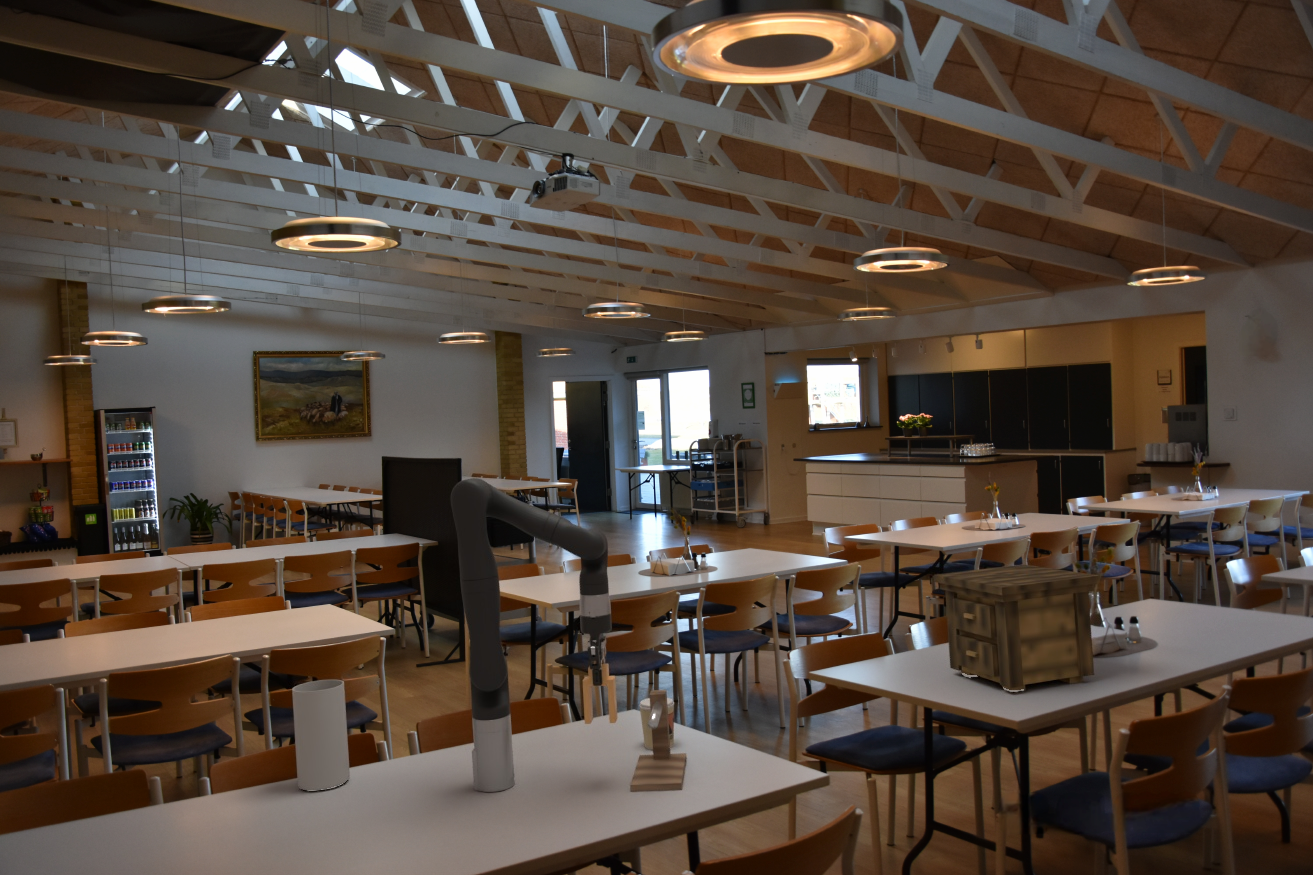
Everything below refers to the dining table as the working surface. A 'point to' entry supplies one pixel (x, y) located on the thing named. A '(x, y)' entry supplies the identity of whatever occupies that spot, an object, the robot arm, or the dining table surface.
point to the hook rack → (659, 753)
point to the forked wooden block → (612, 700)
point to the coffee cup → (645, 718)
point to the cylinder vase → (320, 734)
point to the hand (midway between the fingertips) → (599, 682)
